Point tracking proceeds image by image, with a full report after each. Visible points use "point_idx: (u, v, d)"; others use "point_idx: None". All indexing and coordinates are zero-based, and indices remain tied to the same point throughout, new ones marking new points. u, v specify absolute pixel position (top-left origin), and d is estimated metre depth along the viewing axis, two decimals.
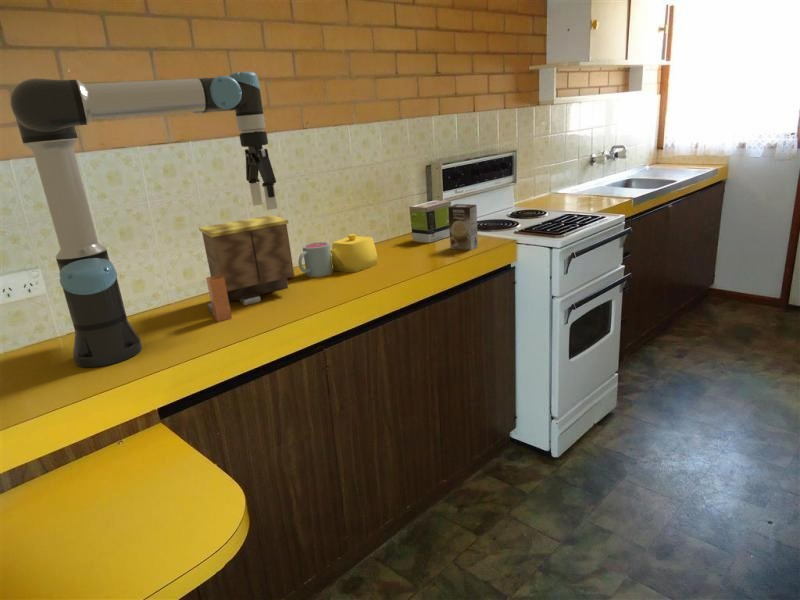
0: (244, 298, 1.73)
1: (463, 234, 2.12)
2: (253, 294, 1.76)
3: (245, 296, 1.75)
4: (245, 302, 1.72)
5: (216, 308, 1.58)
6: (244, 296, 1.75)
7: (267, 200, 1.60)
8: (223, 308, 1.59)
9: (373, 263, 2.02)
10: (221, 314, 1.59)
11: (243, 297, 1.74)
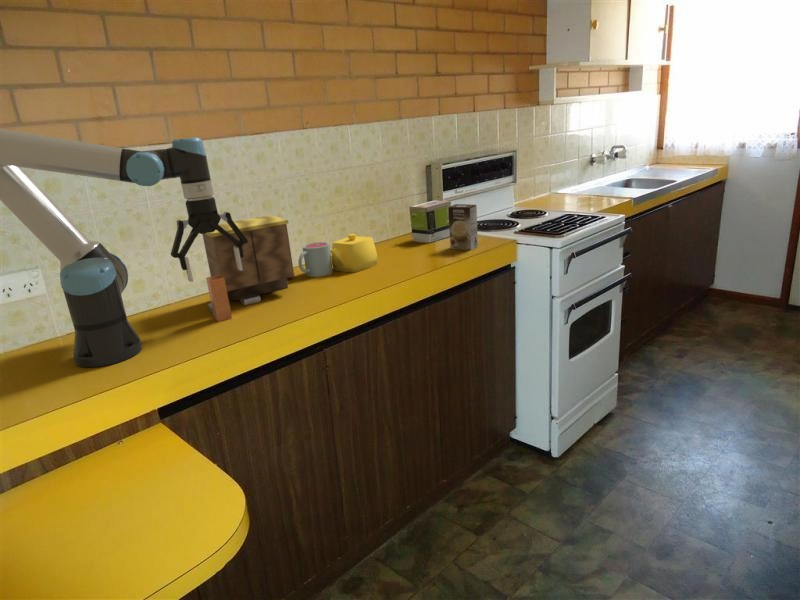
0: (244, 298, 1.73)
1: (463, 234, 2.12)
2: (253, 294, 1.76)
3: (245, 296, 1.75)
4: (245, 302, 1.72)
5: (216, 308, 1.58)
6: (244, 296, 1.75)
7: (186, 271, 1.55)
8: (223, 308, 1.59)
9: (373, 263, 2.02)
10: (221, 314, 1.59)
11: (243, 297, 1.74)
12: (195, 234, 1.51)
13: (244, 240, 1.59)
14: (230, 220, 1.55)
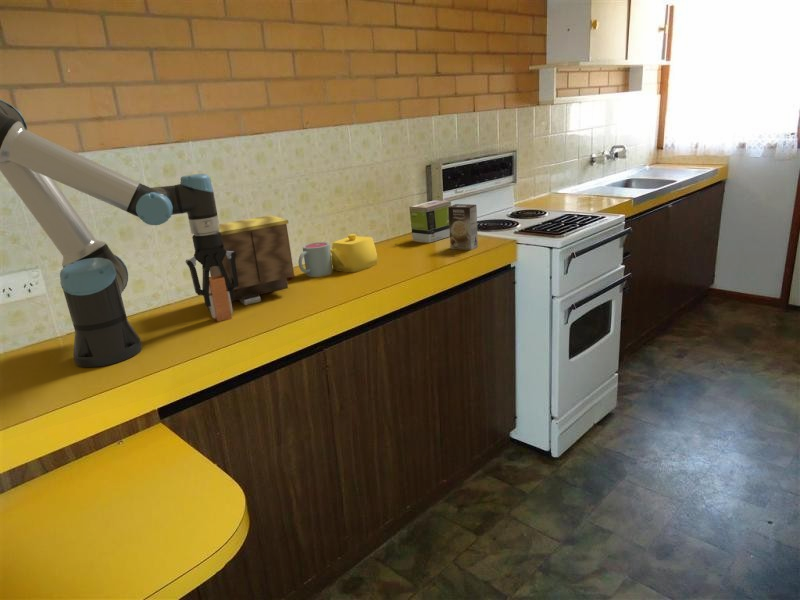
0: (244, 298, 1.73)
1: (463, 234, 2.12)
2: (253, 294, 1.76)
3: (245, 296, 1.75)
4: (245, 302, 1.72)
5: (216, 308, 1.58)
6: (244, 296, 1.75)
7: (210, 307, 1.60)
8: (223, 308, 1.59)
9: (373, 263, 2.02)
10: (221, 314, 1.59)
11: (243, 297, 1.74)
12: (207, 269, 1.55)
13: (235, 283, 1.60)
14: (233, 260, 1.58)
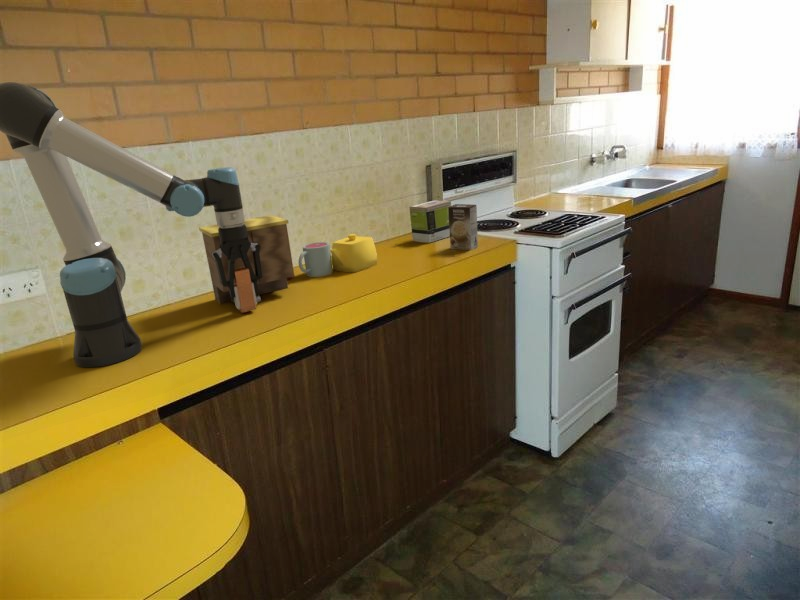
0: None
1: (463, 234, 2.12)
2: None
3: None
4: None
5: (241, 299, 1.61)
6: None
7: (234, 298, 1.63)
8: (247, 300, 1.62)
9: (373, 263, 2.02)
10: (245, 305, 1.62)
11: None
12: (232, 261, 1.58)
13: (259, 275, 1.63)
14: (257, 252, 1.61)
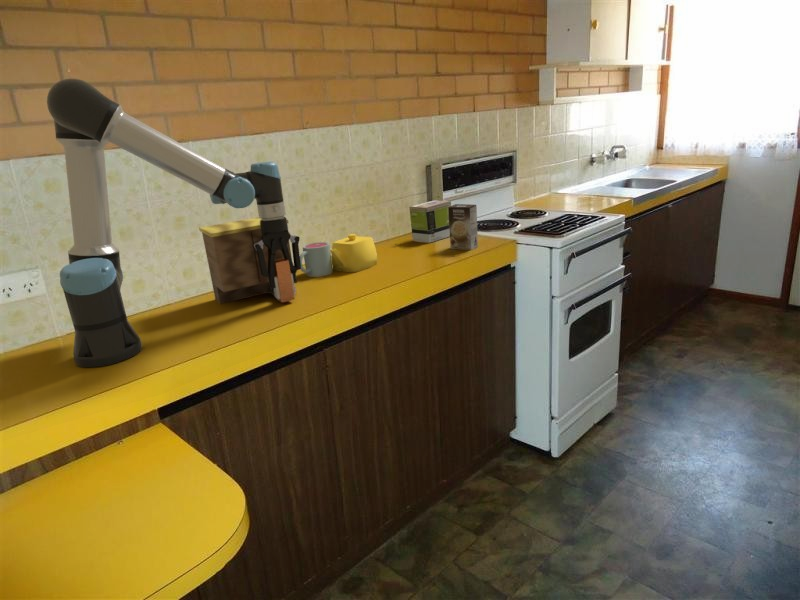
0: None
1: (463, 234, 2.12)
2: None
3: None
4: None
5: (281, 289, 1.67)
6: None
7: (274, 289, 1.69)
8: (287, 290, 1.68)
9: (373, 263, 2.02)
10: (285, 295, 1.68)
11: None
12: (273, 252, 1.63)
13: (298, 266, 1.69)
14: (296, 244, 1.67)
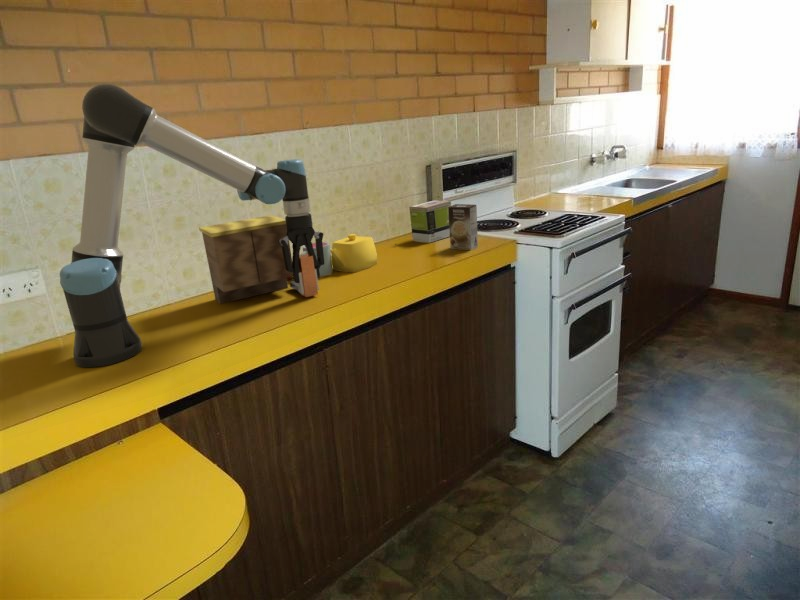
0: None
1: (463, 234, 2.12)
2: None
3: None
4: None
5: (305, 284, 1.70)
6: None
7: (298, 284, 1.72)
8: (310, 285, 1.71)
9: (373, 263, 2.02)
10: (309, 290, 1.71)
11: None
12: (298, 248, 1.67)
13: (322, 262, 1.72)
14: (320, 240, 1.70)
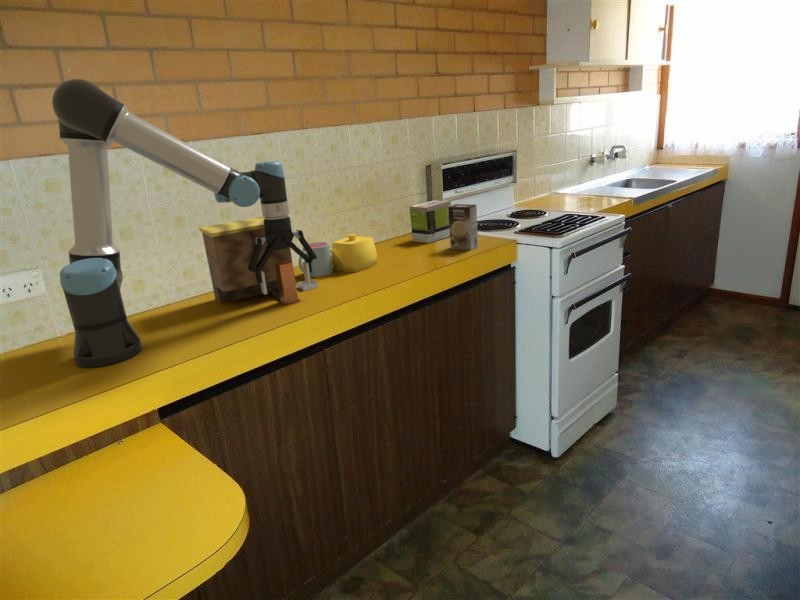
0: (303, 284, 1.82)
1: (463, 234, 2.12)
2: None
3: (302, 282, 1.84)
4: (304, 288, 1.81)
5: (284, 292, 1.67)
6: (301, 282, 1.84)
7: (261, 284, 1.66)
8: (290, 292, 1.68)
9: (373, 263, 2.02)
10: (289, 297, 1.68)
11: (301, 283, 1.83)
12: (271, 250, 1.63)
13: (313, 256, 1.70)
14: (302, 238, 1.67)
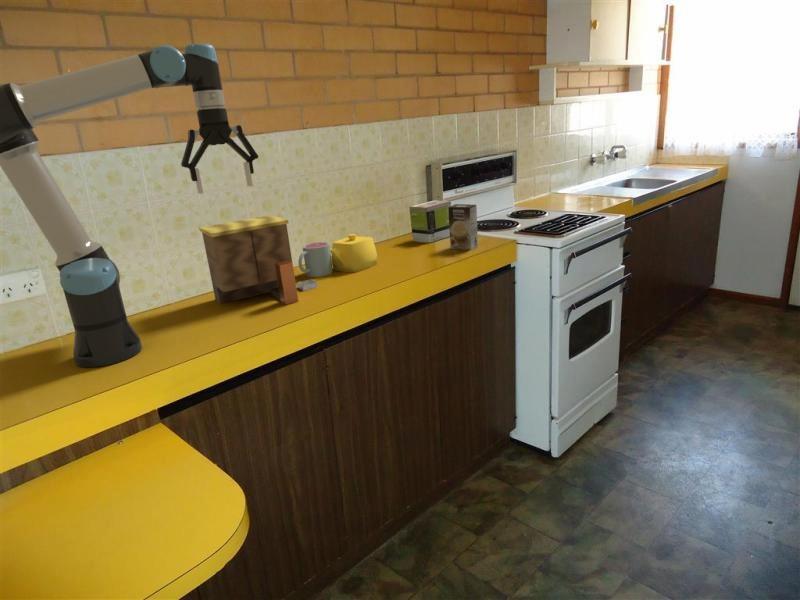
0: (303, 284, 1.82)
1: (463, 234, 2.12)
2: (309, 281, 1.85)
3: (302, 282, 1.84)
4: (304, 288, 1.81)
5: (284, 292, 1.67)
6: (301, 282, 1.84)
7: (196, 183, 1.54)
8: (290, 292, 1.68)
9: (373, 263, 2.02)
10: (289, 297, 1.68)
11: (301, 283, 1.83)
12: (206, 144, 1.50)
13: (255, 155, 1.58)
14: (241, 133, 1.55)
